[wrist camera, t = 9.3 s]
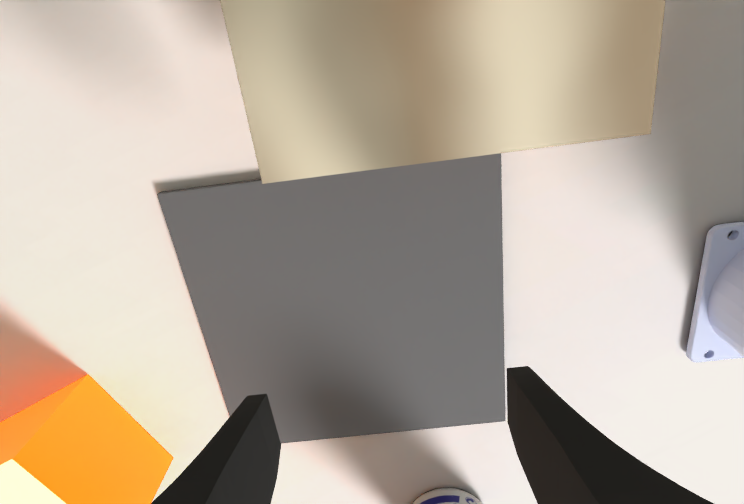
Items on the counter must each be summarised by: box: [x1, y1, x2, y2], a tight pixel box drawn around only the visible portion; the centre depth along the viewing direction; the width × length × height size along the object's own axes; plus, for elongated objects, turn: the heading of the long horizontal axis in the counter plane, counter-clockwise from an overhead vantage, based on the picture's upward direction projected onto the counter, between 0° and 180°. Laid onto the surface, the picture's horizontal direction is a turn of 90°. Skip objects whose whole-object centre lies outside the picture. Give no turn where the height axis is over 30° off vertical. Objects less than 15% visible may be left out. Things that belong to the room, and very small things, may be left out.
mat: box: [157, 153, 505, 443], centre depth 24 cm, size 16×16×1 cm
